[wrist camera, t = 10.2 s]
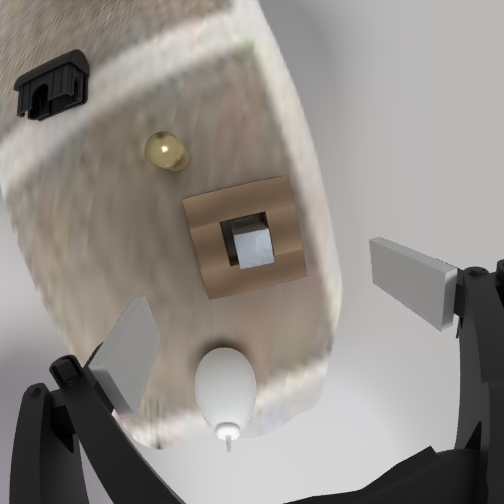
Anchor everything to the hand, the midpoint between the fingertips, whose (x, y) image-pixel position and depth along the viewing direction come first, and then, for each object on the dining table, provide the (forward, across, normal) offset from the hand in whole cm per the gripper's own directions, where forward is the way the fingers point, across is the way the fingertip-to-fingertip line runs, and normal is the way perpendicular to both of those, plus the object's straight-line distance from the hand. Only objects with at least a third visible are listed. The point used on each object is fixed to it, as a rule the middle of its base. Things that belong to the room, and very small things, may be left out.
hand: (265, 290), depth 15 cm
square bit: (+21, +1, 0) cm, 21 cm away
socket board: (+21, 0, 0) cm, 21 cm away
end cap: (+21, -20, +27) cm, 40 cm away
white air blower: (+21, -7, -18) cm, 28 cm away
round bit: (+21, -6, +10) cm, 24 cm away
